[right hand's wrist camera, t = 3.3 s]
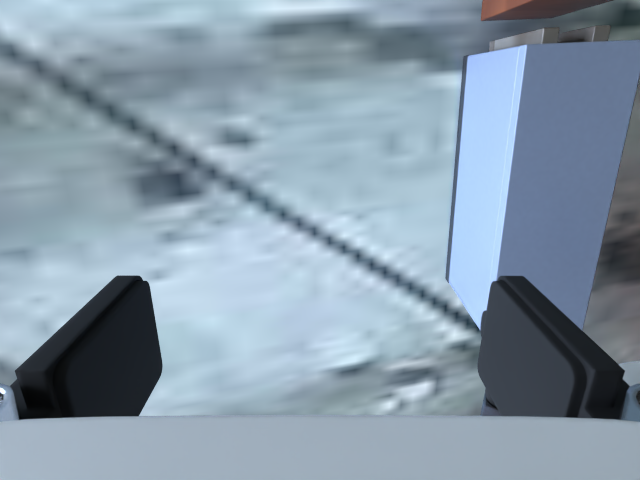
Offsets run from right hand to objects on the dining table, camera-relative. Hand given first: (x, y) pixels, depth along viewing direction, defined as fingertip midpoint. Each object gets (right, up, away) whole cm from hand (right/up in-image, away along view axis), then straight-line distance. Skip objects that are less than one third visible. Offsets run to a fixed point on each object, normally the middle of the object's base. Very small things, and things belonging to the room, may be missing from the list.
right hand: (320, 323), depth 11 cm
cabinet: (+13, +7, +20) cm, 24 cm away
